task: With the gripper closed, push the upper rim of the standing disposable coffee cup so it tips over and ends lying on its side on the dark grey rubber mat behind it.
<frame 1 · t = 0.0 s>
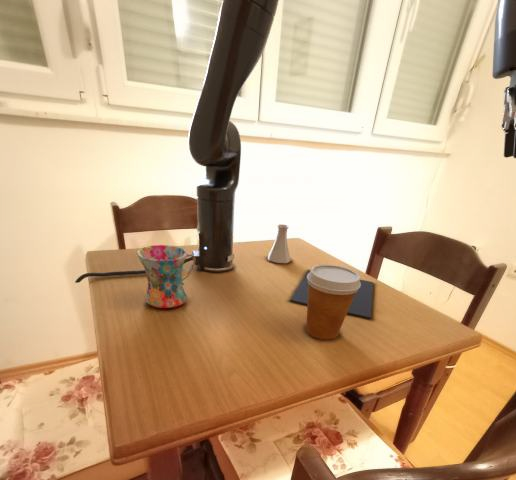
mat: (335, 291, 78), on the table
mug: (172, 301, 67), on the table
disposable coffee cup: (321, 332, 61), on the table
flask: (278, 260, 95), on the table
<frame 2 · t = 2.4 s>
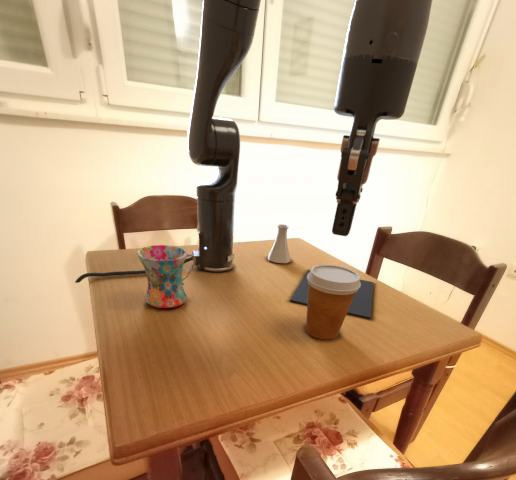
hand: (340, 232, 41), 21 cm above the table, tool pointing down, fingers closed
nothing on the table moved.
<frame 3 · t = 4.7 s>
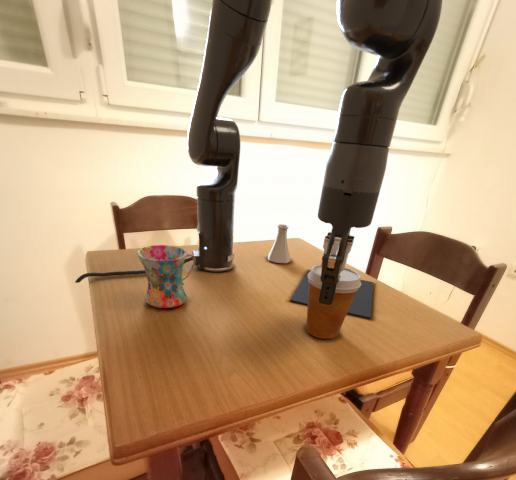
hand: (325, 302, 51), 9 cm above the table, tool pointing down, fingers closed
disposable coffee cup: (321, 331, 61), on the table, touching gripper
everything else where it was.
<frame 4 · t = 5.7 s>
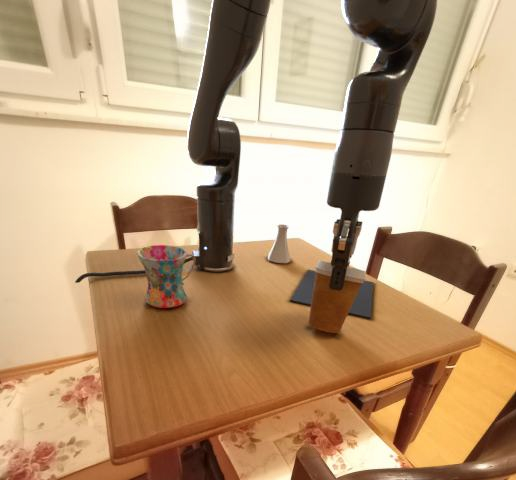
hand: (335, 288, 52), 11 cm above the table, tool pointing down, fingers closed
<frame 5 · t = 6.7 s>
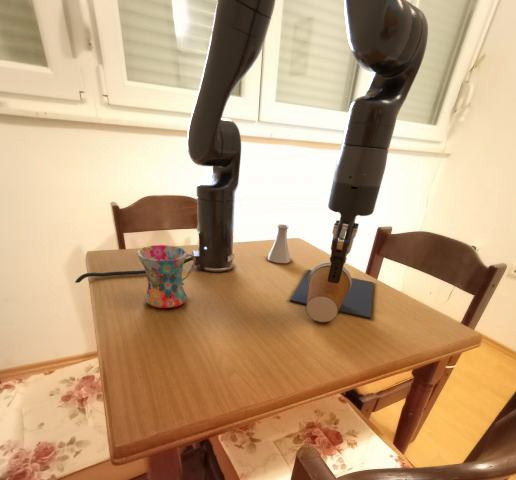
hand: (333, 281, 60), 9 cm above the table, tool pointing down, fingers closed
disposable coffee cup: (321, 310, 62), point 3 cm above the table, touching mat
everything else where it was.
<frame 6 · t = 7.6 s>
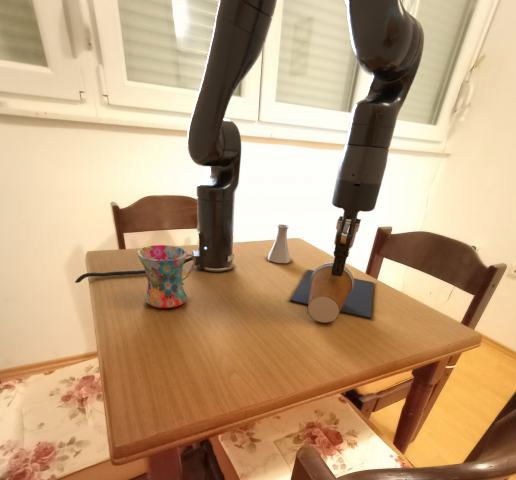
hand: (336, 274, 63), 9 cm above the table, tool pointing down, fingers closed
nothing on the table moved.
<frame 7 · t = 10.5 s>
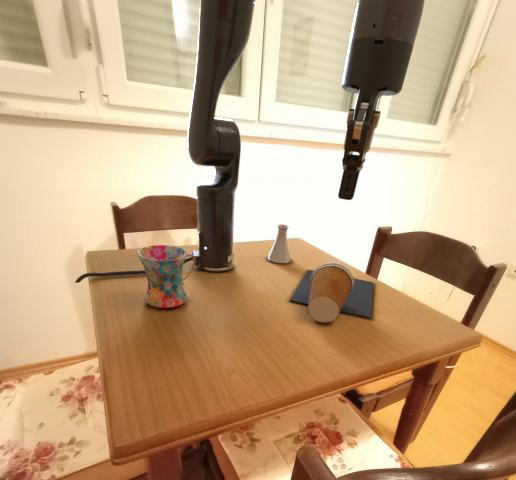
hand: (345, 198, 47), 24 cm above the table, tool pointing down, fingers closed
nothing on the table moved.
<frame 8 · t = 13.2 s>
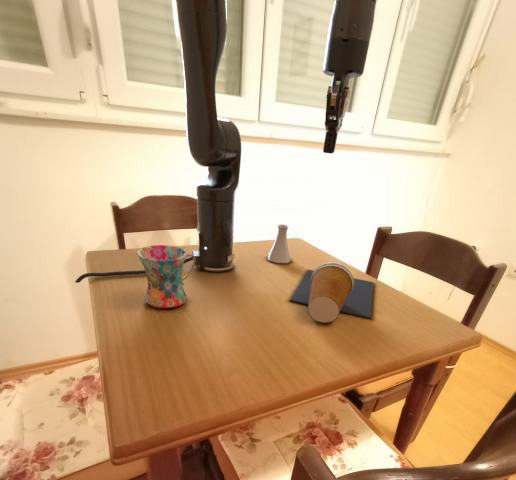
hand: (328, 152, 66), 29 cm above the table, tool pointing down, fingers closed
nothing on the table moved.
at the end: disposable coffee cup tilted 79°; disposable coffee cup touching mat, table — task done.
